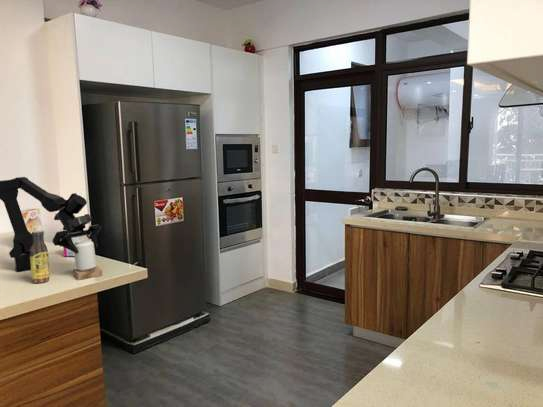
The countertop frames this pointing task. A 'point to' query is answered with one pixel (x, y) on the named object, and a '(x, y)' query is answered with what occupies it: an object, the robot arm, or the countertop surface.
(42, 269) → the sauce bottle
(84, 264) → the can
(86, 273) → the walnut plinth
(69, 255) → the supplement box
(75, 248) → the robot arm
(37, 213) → the coffeecake box
